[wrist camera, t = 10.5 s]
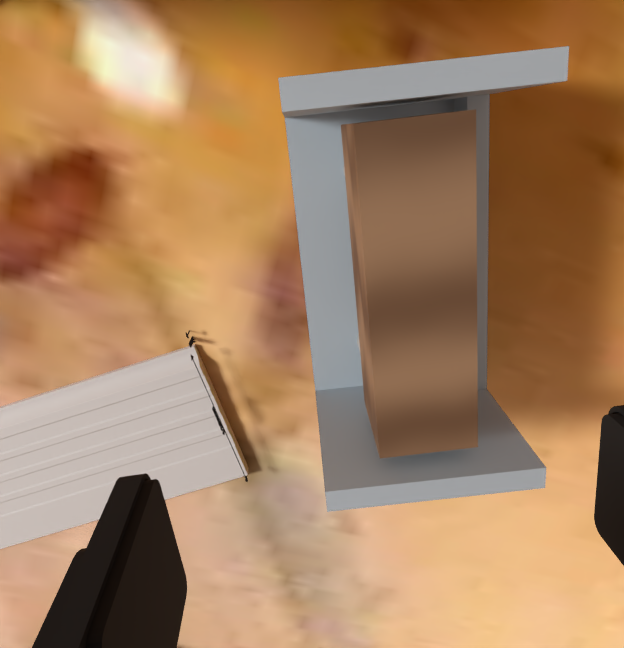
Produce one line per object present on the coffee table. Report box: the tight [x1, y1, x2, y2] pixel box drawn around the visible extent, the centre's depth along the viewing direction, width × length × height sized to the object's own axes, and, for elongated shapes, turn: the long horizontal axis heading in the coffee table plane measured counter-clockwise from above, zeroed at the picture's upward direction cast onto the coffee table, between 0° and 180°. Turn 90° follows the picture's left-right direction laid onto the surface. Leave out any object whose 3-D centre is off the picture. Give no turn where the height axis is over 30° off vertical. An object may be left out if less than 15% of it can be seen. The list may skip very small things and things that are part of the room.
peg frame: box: [278, 46, 569, 512], centre depth 29 cm, size 20×11×12 cm, turn 6°
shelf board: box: [341, 109, 478, 458], centre depth 27 cm, size 16×5×6 cm, turn 6°
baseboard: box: [0, 331, 249, 549], centre depth 39 cm, size 31×3×12 cm
